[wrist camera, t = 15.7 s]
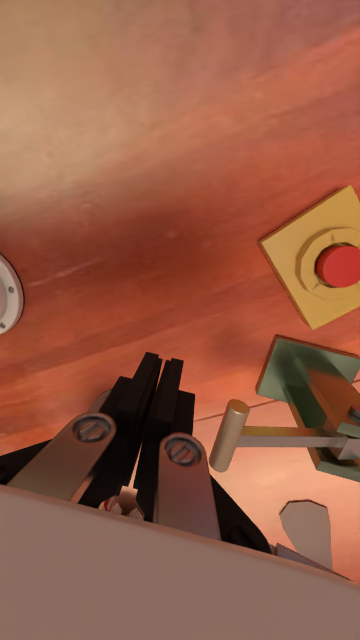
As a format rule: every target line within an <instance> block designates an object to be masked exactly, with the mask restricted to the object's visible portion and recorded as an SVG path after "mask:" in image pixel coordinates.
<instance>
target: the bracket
mask: <svg viewBox="0 0 360 640" xmlns="http://www.w3.org/2000/svg"><path fill="white" fill-rule="evenodd" d="M359 368H360V357H359V356H357V355H353V354H349V353H345V352H341V351H337V350H333V349H329V348H325V347H321V346H318V345H314V344H310V343H306V342H302V341H298V340H294V339H290V338H286V337H282V336H278V335H276V336H275V338H274V341H273V344H272V346H271V349H270V352H269V355H268V357H267V360H266V363H265V365H264V368H263V371H262V373H261V376H260V379H259V381H258V384H257V387H256V394H257V395H260V396H264V397H268V398H272V399H275V400H279V401H283V402H286V403H288V405H289V407H290V409H291V412H292V414H293V416H294V419H295V421H296V423H297V426H298V428H323V426H324V424H325V422H326V420H327V418H328V419H329V420H330V422H331V424H332V425H333V427H334V429H335V430H336V432H339V433H342V434H346V435H350V436H353V437H357V438H360V393H359V392H358V391H357V390H356V389H355V388H354V387H353V386H352V385H351V384H352V382H353V380H354V378H355V376H356V374H357V372H358V370H359ZM307 449H308V452H309V454H310V456H311V459H312V461H313V463H314V466H315V468H316V470H318V471H322V472H325V473H329V474H332V475H336V476H339V477H343V478H346V479H350V480H354V481H357V482H360V459H350V460H338V459H337V458H336V457H335V456H334V455H333V453H332V452H331V451H330V450H329V449H328V448H327V447H307Z"/></svg>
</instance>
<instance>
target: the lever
mask: <svg viewBox="0 0 360 640" xmlns="http://www.w3.org/2000/svg"><path fill="white" fill-rule="evenodd" d="M249 411H250V410H249V407H248V406H247V405H246V404H245V403H244V402H242V401H240V400H236V399H232V400H230V401H229V402H228V404H227V407H226V410H225V413H224V416H223V419H222V422H221V425H220V428H219V431H218V434H217V437H216V440H215V442H214V445H213V448H212V451H211V454H210V457H209V464H210V466H211V467H212V468H213V469H214V470H216V471H218V472H225V471H226V470H227V469H228V467H229V465H230V462H231V459H232V457H233V454H234V451H235V449H236V447H327V448H328V449H329V450H330V451H331V452H332V453H333V455H334V456H335V457H336V458H337V459H338V460H350V459H360V438H357V437H353V436H350V435H346V434H342V433H339V432H336V430H335V429H334V427H333V425H332V424H331V422H330V420H329V419H328V418H327V420H326V422H325V424H324V426H323V428H294V427H258V426H244V425H245V422H246V420H247V417H248V414H249Z"/></svg>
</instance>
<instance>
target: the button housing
mask: <svg viewBox="0 0 360 640" xmlns="http://www.w3.org/2000/svg"><path fill="white" fill-rule="evenodd" d="M258 244H259V246H260V248H261V249H262V251H263V253H264V255H265V256H266V258H267V260H268V261H269V263H270V265H271V266H272V268H273V270H274V272H275V273H276V275H277V277H278V278H279V280H280V282H281V284H282V285H283V287H284V289H285V290H286V292H287V294H288V295H289V297H290V299H291V301H292V302H293V304H294V306H295V307H296V309H297V311H298V312H299V314H300V316H301V318H302V319H303V321H304V323H305V324H306V325H307V326H308V327H309V328H310V329H312V330H314V329H316V328H318V327H320V326H322V325H324V324H326V323H328V322H330V321H332V320H334V319H336V318H338V317H340V316H342V315H343V314H345V313H347V312H349V311H351V310H353V309H355V308H357V307H359V306H360V280H359V281H358V282H357V283H355V284H354V285H351V286H349V287H344V288H339V287H334V286H332V285H330V284H327V283H325V282H323V281H322V280H321V279H320V278H319V277H318V275H317V272H316V264H317V261H318V259H319V257H320V256H321V254H322V253H323V252H324V251H326V250H327V249H329V248H331V247H333V246H353V247H356V248H359V249H360V202H359V200H358V198H357V196H356V194H355V192H354V190H353V188H352V186H351V185H349V186H346V187H343V188H341V189H338V190H337V191H335V192H333V193H332V194H330V195H329V196H327V197H326V198H324V199H323V200H321V201H320V202H318V203H317V204H315V205H314V206H312V207H310V208H309V209H307V210H306V211H304V212H303V213H301V214H300V215H298V216H297V217H295V218H294V219H292V220H291V221H289V222H288V223H286V224H284V225H283V226H281V227H280V228H278V229H277V230H275V231H274V232H272V233H271V234H269V235H268V236H266V237H265V238H263V239H262V240H260V241H258Z"/></svg>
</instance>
